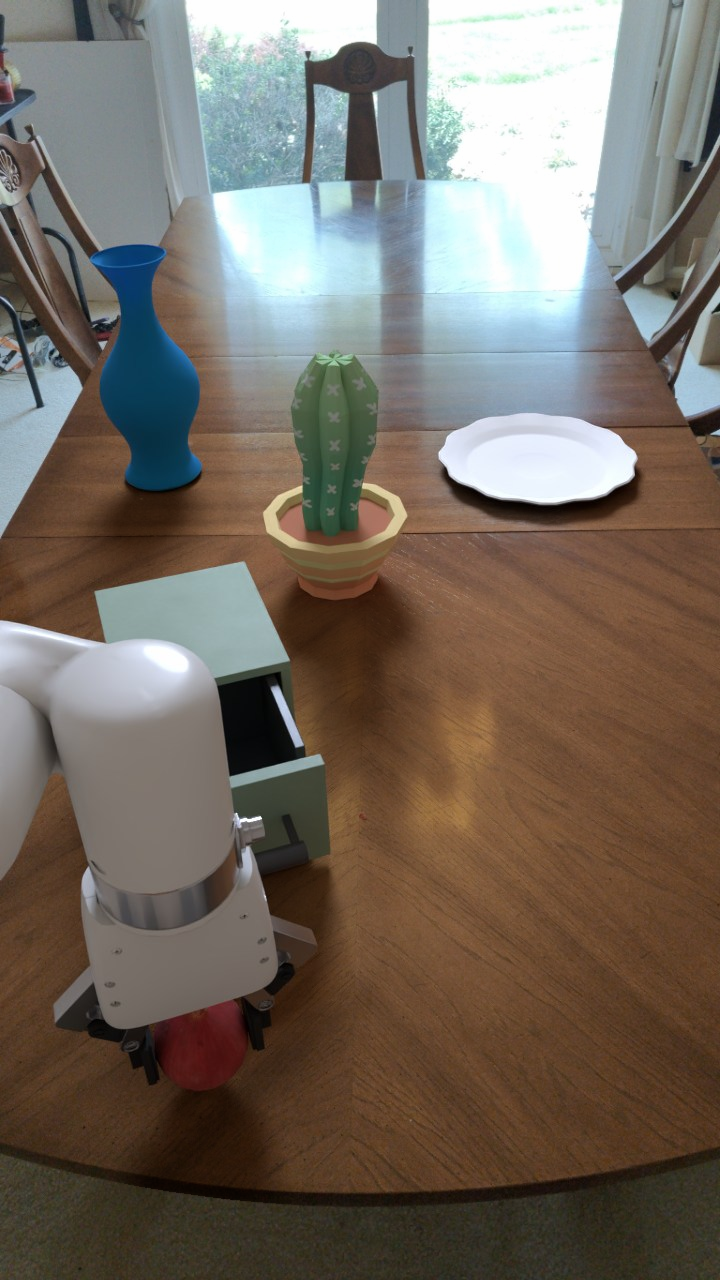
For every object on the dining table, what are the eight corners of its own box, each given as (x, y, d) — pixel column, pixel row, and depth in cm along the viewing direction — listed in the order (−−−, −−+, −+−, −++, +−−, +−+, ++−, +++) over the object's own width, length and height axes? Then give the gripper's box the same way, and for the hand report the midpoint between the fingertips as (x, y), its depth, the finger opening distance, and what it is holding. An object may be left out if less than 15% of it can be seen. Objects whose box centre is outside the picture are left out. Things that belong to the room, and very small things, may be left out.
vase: (228, 462, 131) (202, 245, 114) (176, 505, 122) (140, 277, 105) (153, 446, 135) (117, 235, 118) (97, 487, 126) (50, 265, 109)
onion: (147, 1102, 62) (128, 1033, 57) (182, 1020, 66) (166, 949, 61) (235, 1124, 61) (223, 1055, 56) (264, 1039, 65) (255, 968, 60)
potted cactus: (433, 564, 110) (438, 348, 95) (355, 634, 100) (347, 405, 85) (322, 527, 117) (310, 320, 102) (239, 589, 107) (213, 369, 92)
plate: (418, 501, 122) (419, 487, 120) (462, 417, 140) (463, 404, 139) (625, 528, 115) (627, 514, 114) (642, 436, 134) (644, 423, 133)
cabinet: (299, 765, 86) (290, 660, 79) (142, 805, 82) (118, 700, 75) (255, 659, 98) (244, 560, 90) (117, 691, 94) (94, 591, 87)
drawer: (348, 897, 73) (344, 807, 67) (183, 946, 70) (162, 856, 64) (281, 734, 87) (273, 647, 81) (141, 769, 84) (122, 681, 78)
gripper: (305, 770, 56) (316, 958, 67) (-11, 848, 51) (57, 1036, 62) (347, 869, 50) (351, 1057, 61) (-5, 966, 46) (69, 1150, 57)
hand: (202, 1045), depth 62 cm, fingers closed on onion, 5 cm apart
